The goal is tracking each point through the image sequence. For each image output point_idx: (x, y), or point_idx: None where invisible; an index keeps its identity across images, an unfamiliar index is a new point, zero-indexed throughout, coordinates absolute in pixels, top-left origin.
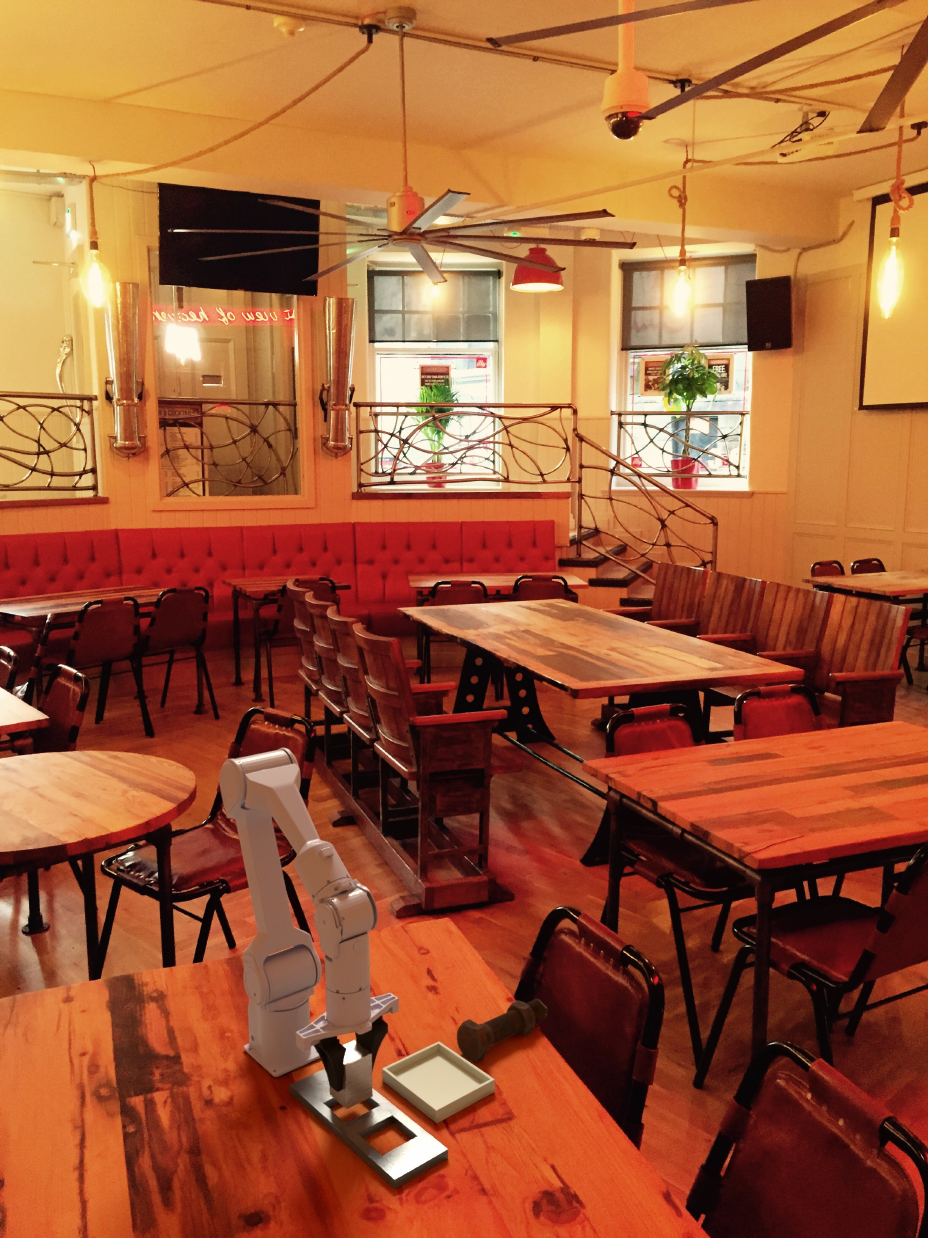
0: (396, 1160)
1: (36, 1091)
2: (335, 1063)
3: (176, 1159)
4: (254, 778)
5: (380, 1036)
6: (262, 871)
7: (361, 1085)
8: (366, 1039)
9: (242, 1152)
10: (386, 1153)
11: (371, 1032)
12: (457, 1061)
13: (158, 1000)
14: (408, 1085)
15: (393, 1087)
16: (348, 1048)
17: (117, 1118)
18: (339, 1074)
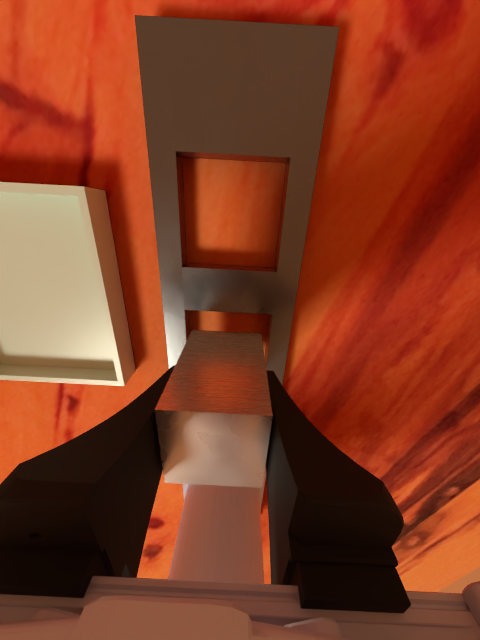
0: (277, 107)
1: (450, 567)
2: (323, 442)
3: (477, 423)
4: None
5: (73, 461)
6: None
7: (216, 352)
8: (138, 474)
9: (416, 379)
10: (277, 155)
11: (102, 509)
12: None
13: None
14: (100, 325)
15: (128, 343)
16: (204, 468)
17: (444, 509)
18: (284, 402)
